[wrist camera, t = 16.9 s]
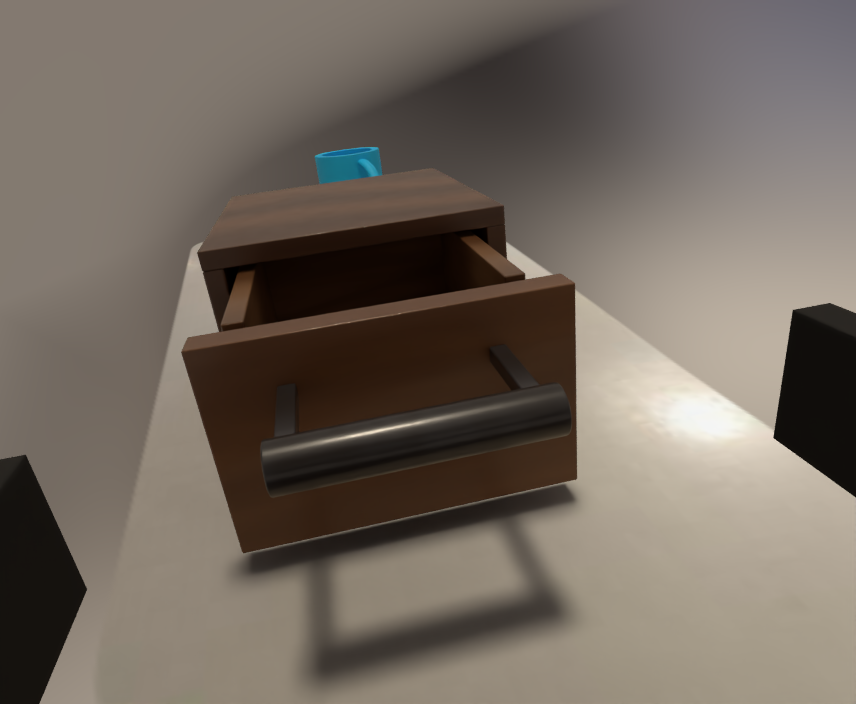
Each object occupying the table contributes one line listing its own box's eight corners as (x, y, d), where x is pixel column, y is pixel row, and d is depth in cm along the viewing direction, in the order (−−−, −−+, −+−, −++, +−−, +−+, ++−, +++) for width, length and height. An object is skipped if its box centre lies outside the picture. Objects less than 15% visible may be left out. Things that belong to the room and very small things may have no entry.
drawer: (645, 572, 19) (656, 337, 15) (228, 675, 17) (143, 435, 14) (475, 340, 36) (463, 207, 33) (262, 378, 35) (228, 243, 31)
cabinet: (514, 391, 32) (504, 205, 28) (249, 444, 30) (196, 252, 26) (447, 300, 46) (433, 167, 42) (264, 331, 44) (231, 196, 40)
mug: (316, 219, 81) (305, 156, 78) (370, 207, 85) (361, 146, 82) (355, 231, 72) (343, 160, 68) (413, 217, 75) (405, 149, 72)
